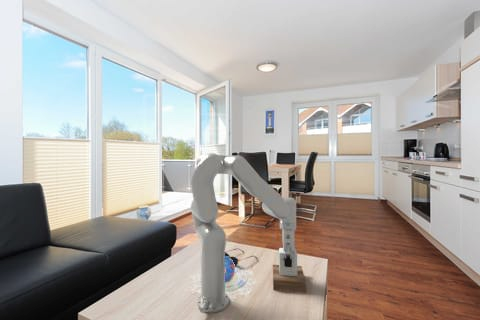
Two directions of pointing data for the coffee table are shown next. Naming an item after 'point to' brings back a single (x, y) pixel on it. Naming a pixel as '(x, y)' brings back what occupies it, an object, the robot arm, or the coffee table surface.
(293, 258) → the small box
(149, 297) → the coffee table surface
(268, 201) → the robot arm
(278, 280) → the walnut block
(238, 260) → the sunglasses
